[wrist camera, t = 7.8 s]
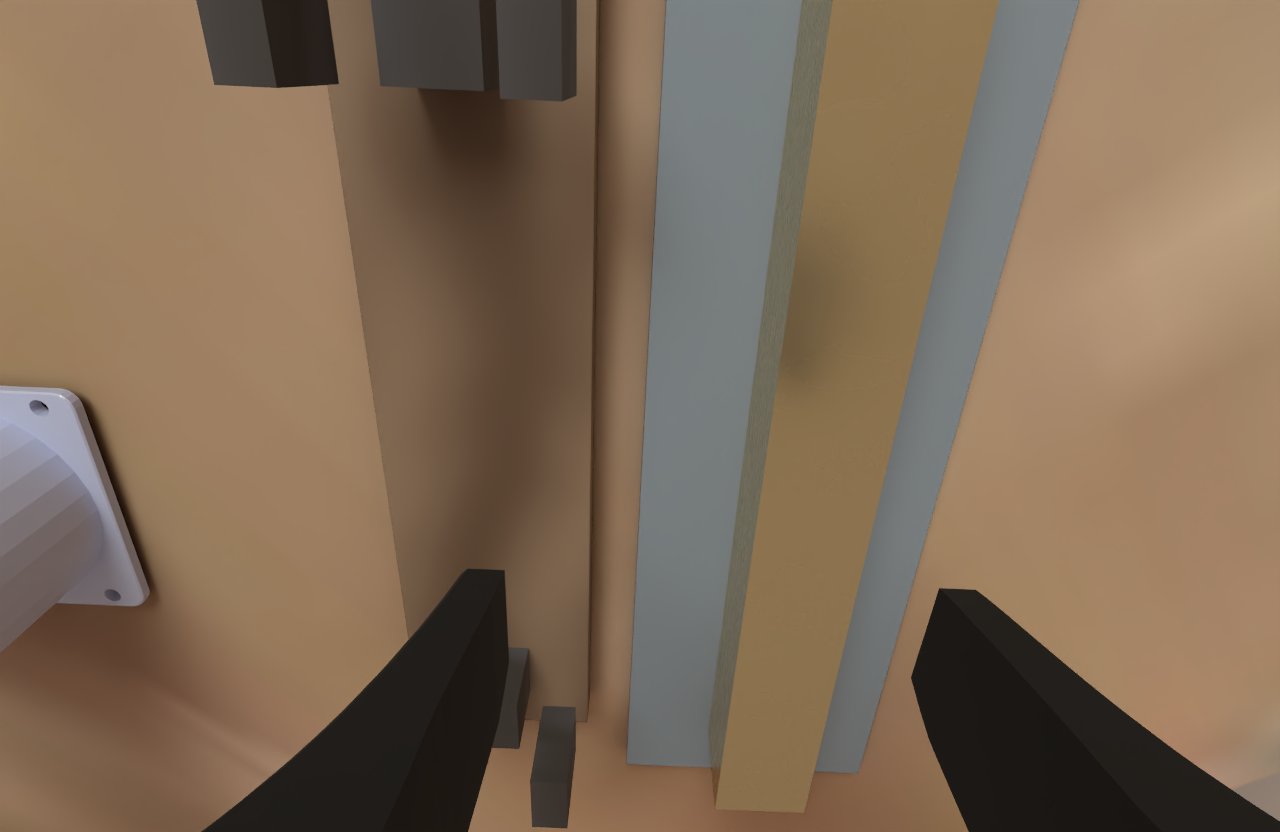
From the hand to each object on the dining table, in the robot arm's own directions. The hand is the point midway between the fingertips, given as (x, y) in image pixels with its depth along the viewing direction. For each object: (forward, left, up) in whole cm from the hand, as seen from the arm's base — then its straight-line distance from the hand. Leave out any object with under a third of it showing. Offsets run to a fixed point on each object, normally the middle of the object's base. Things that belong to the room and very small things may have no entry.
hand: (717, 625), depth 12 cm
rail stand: (-6, -1, -10) cm, 11 cm away
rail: (+3, -1, -9) cm, 10 cm away
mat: (+3, -1, -10) cm, 10 cm away
